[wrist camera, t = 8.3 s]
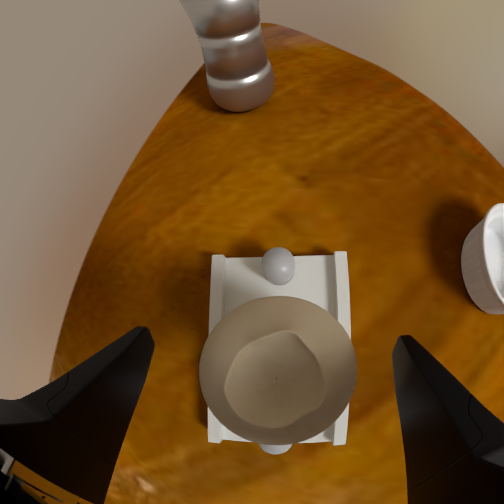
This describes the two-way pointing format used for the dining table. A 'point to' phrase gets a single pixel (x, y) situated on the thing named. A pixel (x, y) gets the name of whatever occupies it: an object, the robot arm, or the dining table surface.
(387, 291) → the dining table surface
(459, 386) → the robot arm
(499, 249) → the ramekin
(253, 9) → the plastic bottle
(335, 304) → the tray
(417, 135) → the dining table surface
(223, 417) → the candle
